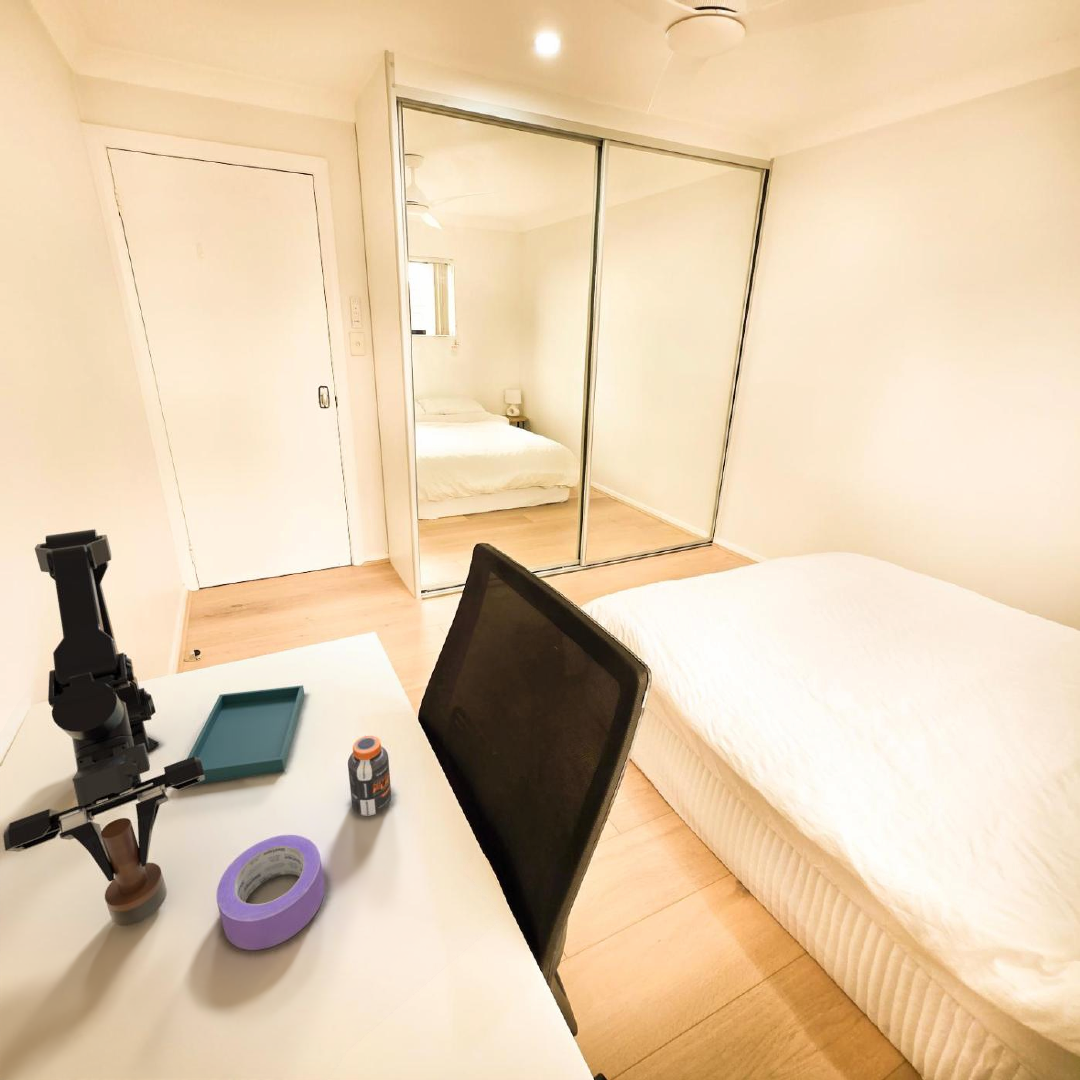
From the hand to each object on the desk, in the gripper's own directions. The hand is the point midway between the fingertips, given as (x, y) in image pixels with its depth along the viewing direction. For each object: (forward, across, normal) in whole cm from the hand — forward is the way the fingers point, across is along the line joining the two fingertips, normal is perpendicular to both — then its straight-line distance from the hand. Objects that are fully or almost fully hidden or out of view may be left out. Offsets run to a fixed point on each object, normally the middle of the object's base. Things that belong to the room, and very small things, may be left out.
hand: (128, 873), depth 63 cm
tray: (-14, +18, +26) cm, 34 cm away
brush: (+4, 0, +6) cm, 7 cm away
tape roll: (+11, +14, 0) cm, 17 cm away
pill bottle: (+5, +30, +6) cm, 31 cm away
